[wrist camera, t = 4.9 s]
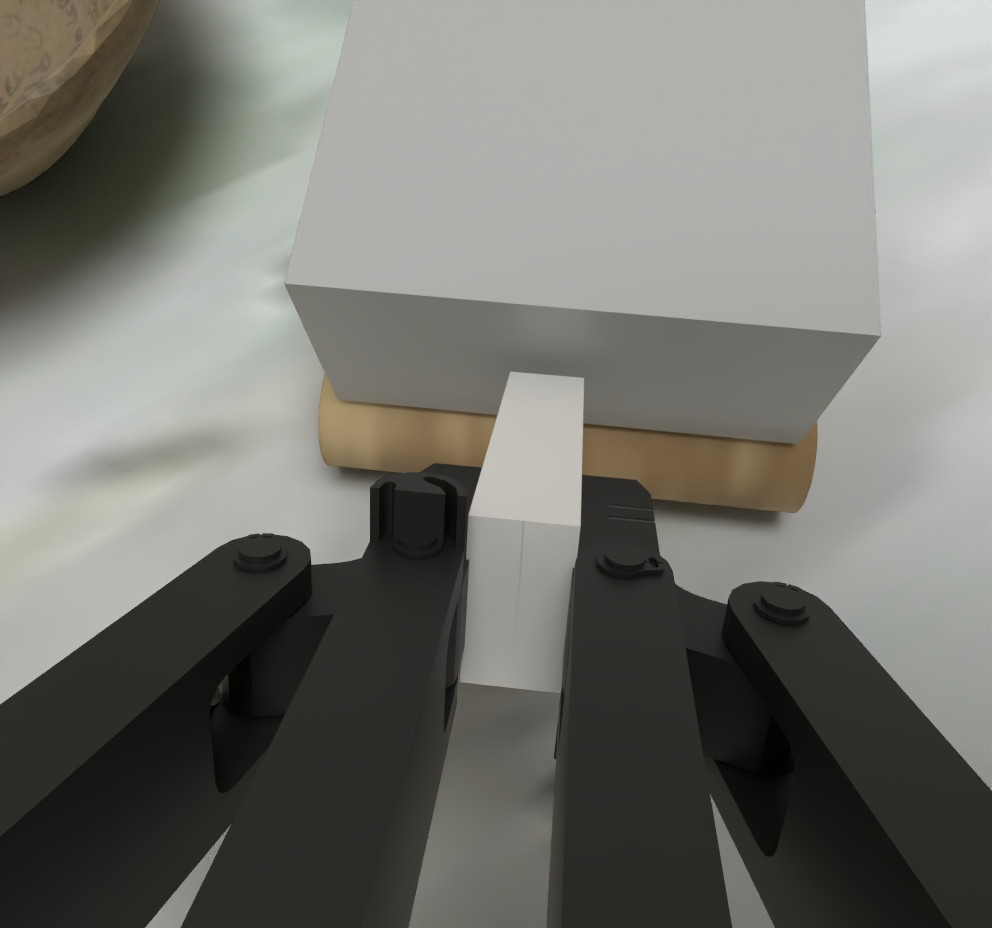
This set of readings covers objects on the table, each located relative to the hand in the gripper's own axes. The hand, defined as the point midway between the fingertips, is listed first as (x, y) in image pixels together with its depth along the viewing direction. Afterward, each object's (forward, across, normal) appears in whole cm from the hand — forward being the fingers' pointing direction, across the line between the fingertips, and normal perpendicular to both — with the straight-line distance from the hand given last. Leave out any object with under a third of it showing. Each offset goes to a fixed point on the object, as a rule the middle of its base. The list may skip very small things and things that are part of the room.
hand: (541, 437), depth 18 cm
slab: (+6, 0, +3) cm, 7 cm away
